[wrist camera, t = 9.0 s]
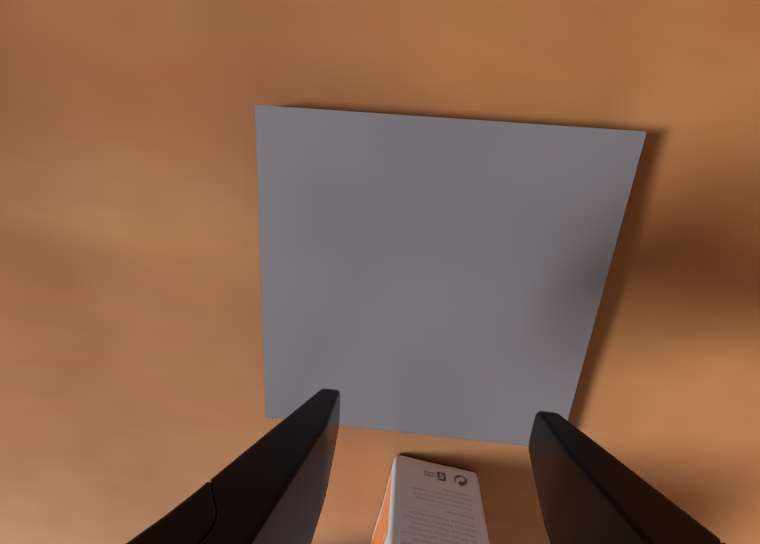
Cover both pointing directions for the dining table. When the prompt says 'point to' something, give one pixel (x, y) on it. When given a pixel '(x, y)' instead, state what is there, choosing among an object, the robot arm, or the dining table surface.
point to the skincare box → (430, 506)
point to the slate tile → (434, 265)
